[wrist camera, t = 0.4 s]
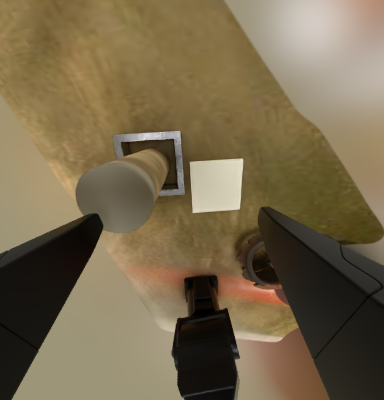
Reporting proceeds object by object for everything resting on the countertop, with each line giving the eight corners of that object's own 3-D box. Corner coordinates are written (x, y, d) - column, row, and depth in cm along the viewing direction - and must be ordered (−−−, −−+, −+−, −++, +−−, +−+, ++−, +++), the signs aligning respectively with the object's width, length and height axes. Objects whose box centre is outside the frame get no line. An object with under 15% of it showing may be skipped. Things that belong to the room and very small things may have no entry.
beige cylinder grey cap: (171, 177, 23) (156, 230, 10) (141, 179, 23) (88, 235, 10) (168, 146, 22) (145, 162, 9) (136, 148, 21) (64, 167, 8)
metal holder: (184, 188, 24) (184, 194, 22) (131, 192, 24) (126, 198, 21) (180, 131, 21) (180, 131, 19) (119, 135, 21) (111, 135, 18)
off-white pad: (238, 208, 26) (239, 209, 25) (192, 211, 25) (192, 212, 25) (242, 158, 23) (243, 158, 22) (189, 161, 22) (189, 162, 22)
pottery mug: (226, 269, 31) (234, 285, 23) (239, 223, 32) (251, 224, 24) (287, 290, 30) (318, 316, 22) (298, 242, 31) (333, 249, 23)
